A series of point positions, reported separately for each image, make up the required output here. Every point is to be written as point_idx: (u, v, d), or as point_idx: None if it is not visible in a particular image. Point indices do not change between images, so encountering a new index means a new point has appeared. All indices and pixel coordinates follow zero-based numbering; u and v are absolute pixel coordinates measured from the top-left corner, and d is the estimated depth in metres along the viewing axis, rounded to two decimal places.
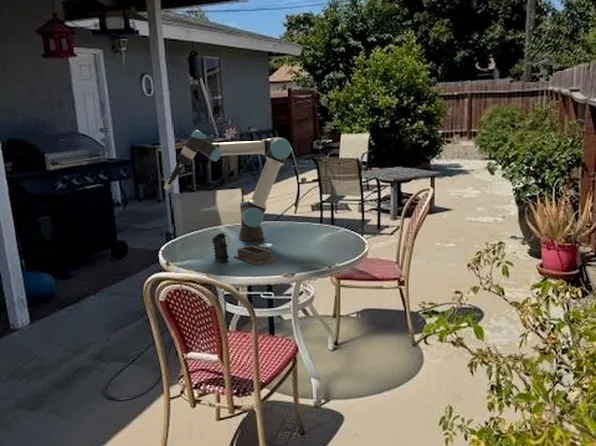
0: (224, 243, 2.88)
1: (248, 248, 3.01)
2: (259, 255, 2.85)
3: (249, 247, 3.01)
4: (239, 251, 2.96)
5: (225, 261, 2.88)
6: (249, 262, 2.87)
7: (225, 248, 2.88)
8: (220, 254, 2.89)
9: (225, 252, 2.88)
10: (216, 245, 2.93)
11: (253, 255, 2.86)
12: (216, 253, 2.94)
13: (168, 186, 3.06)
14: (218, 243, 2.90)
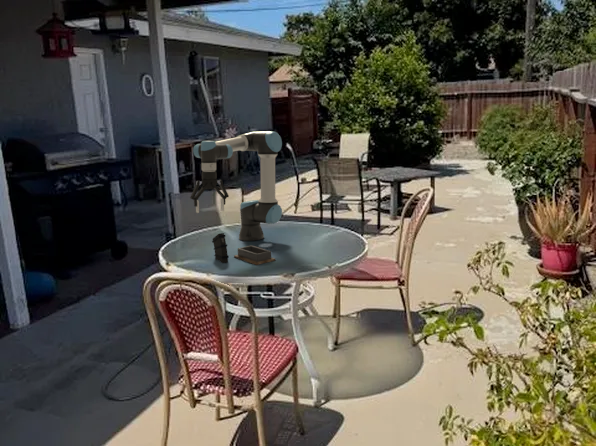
0: (224, 243, 2.88)
1: (248, 248, 3.01)
2: (259, 255, 2.85)
3: (249, 247, 3.01)
4: (239, 251, 2.96)
5: (225, 261, 2.88)
6: (249, 262, 2.87)
7: (225, 248, 2.88)
8: (220, 254, 2.89)
9: (225, 252, 2.88)
10: (216, 245, 2.93)
11: (253, 255, 2.86)
12: (216, 253, 2.94)
13: None
14: (218, 243, 2.90)
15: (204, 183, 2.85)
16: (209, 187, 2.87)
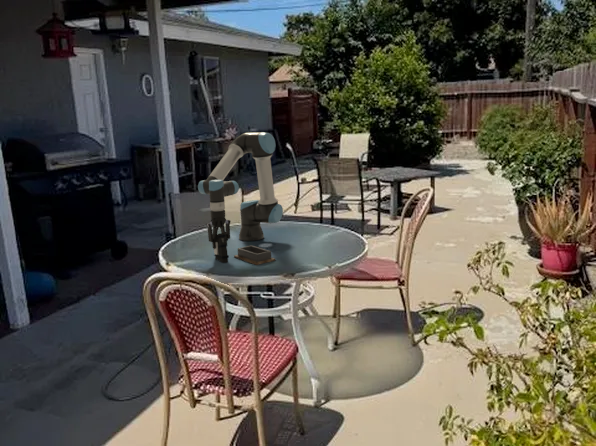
0: (224, 243, 2.88)
1: (248, 248, 3.01)
2: (259, 255, 2.85)
3: (249, 247, 3.01)
4: (239, 251, 2.96)
5: (225, 261, 2.88)
6: (249, 262, 2.87)
7: (225, 248, 2.88)
8: (220, 254, 2.89)
9: (225, 252, 2.88)
10: None
11: (253, 255, 2.86)
12: None
13: None
14: (218, 242, 2.90)
15: (214, 222, 2.87)
16: (219, 226, 2.89)
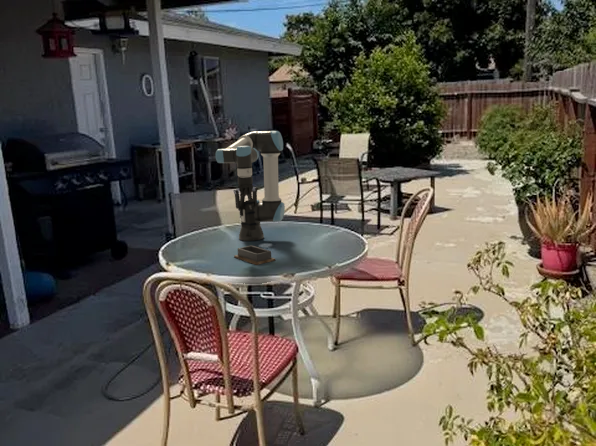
0: (252, 210, 2.85)
1: (248, 248, 3.01)
2: (259, 255, 2.85)
3: (249, 247, 3.01)
4: (239, 251, 2.96)
5: (253, 228, 2.85)
6: (249, 262, 2.87)
7: (253, 215, 2.85)
8: (247, 221, 2.86)
9: (253, 219, 2.85)
10: None
11: (253, 255, 2.86)
12: None
13: None
14: (245, 210, 2.87)
15: (241, 189, 2.84)
16: (246, 192, 2.86)
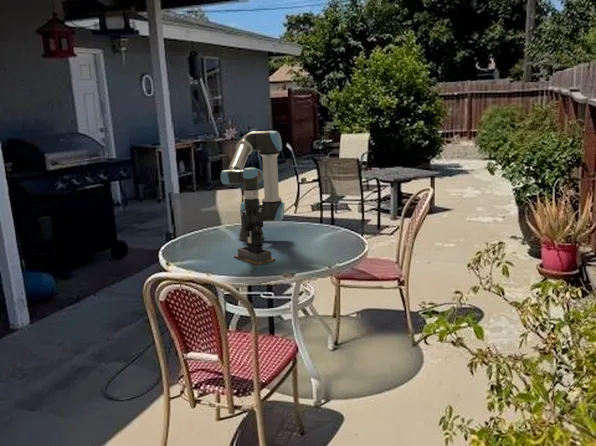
0: (259, 231, 2.87)
1: (248, 248, 3.01)
2: (259, 255, 2.85)
3: None
4: (239, 251, 2.96)
5: (259, 249, 2.87)
6: (249, 262, 2.87)
7: (259, 236, 2.87)
8: (254, 242, 2.88)
9: (259, 240, 2.87)
10: None
11: (253, 255, 2.86)
12: None
13: None
14: (251, 231, 2.89)
15: (248, 210, 2.86)
16: (252, 214, 2.88)
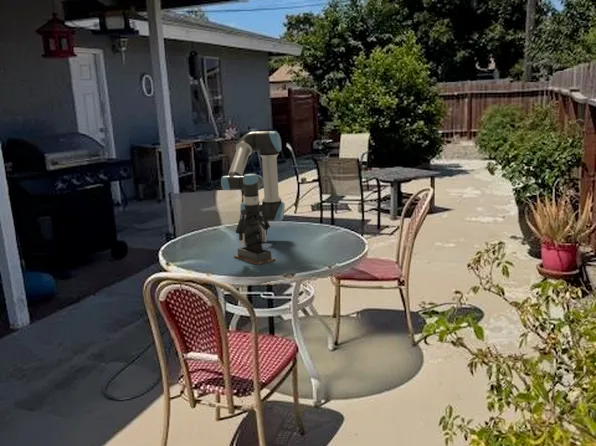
0: (259, 240, 2.88)
1: None
2: (259, 255, 2.85)
3: None
4: (239, 251, 2.96)
5: None
6: (249, 262, 2.87)
7: (260, 245, 2.88)
8: (255, 251, 2.89)
9: (260, 249, 2.88)
10: (250, 242, 2.92)
11: (253, 255, 2.86)
12: (250, 250, 2.94)
13: None
14: (252, 239, 2.90)
15: (248, 216, 2.87)
16: (253, 220, 2.89)
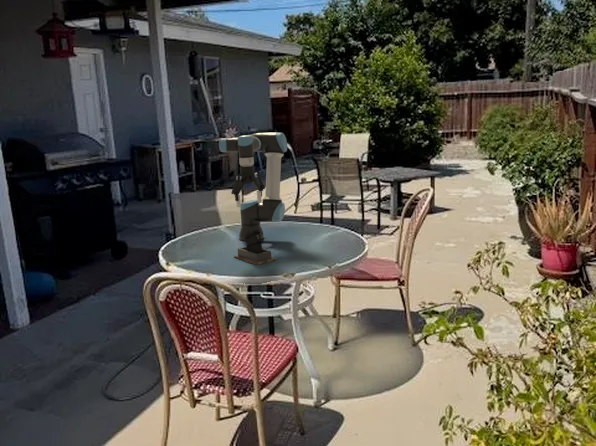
0: (259, 240, 2.88)
1: None
2: (259, 255, 2.85)
3: None
4: (239, 251, 2.96)
5: None
6: (249, 262, 2.87)
7: (260, 245, 2.88)
8: (255, 251, 2.89)
9: (260, 249, 2.88)
10: (250, 242, 2.92)
11: (253, 255, 2.86)
12: (250, 250, 2.94)
13: None
14: (252, 239, 2.90)
15: (244, 177, 2.91)
16: (248, 181, 2.93)
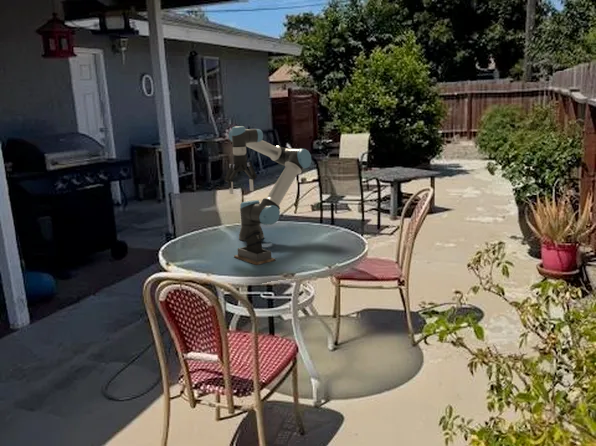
0: (259, 240, 2.88)
1: None
2: (259, 255, 2.85)
3: None
4: (239, 251, 2.96)
5: None
6: (249, 262, 2.87)
7: (260, 245, 2.88)
8: (255, 251, 2.89)
9: (260, 249, 2.88)
10: (250, 242, 2.92)
11: (253, 255, 2.86)
12: (250, 250, 2.94)
13: None
14: (252, 239, 2.90)
15: (236, 166, 3.09)
16: (241, 169, 3.11)
